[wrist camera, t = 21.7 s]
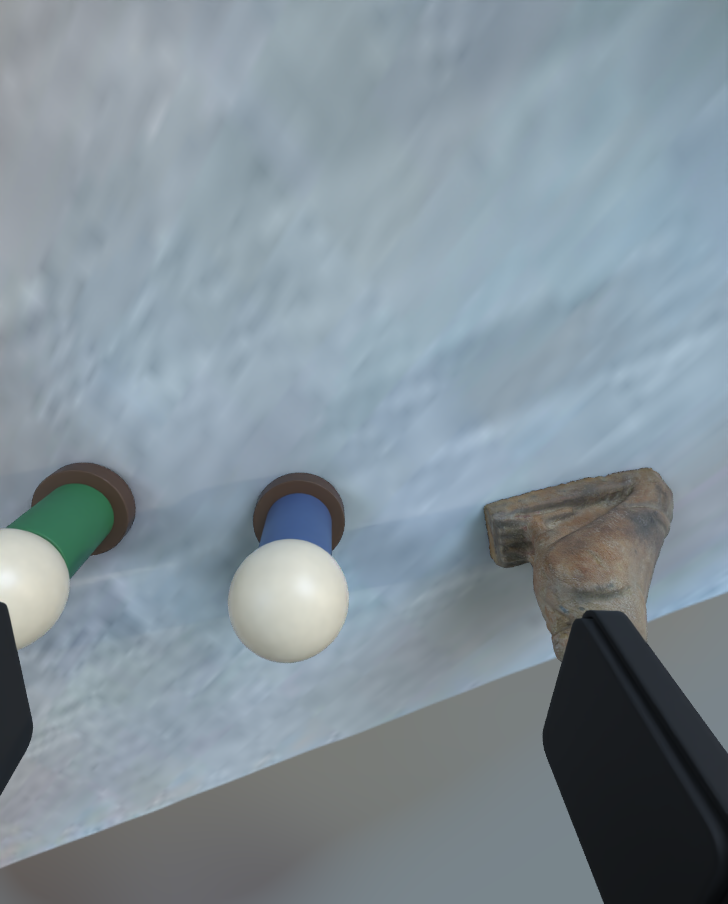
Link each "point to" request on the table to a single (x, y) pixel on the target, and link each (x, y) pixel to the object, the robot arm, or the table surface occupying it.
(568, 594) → the worn brown figurine
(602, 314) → the table surface
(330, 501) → the blue doll
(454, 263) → the table surface
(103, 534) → the green doll
